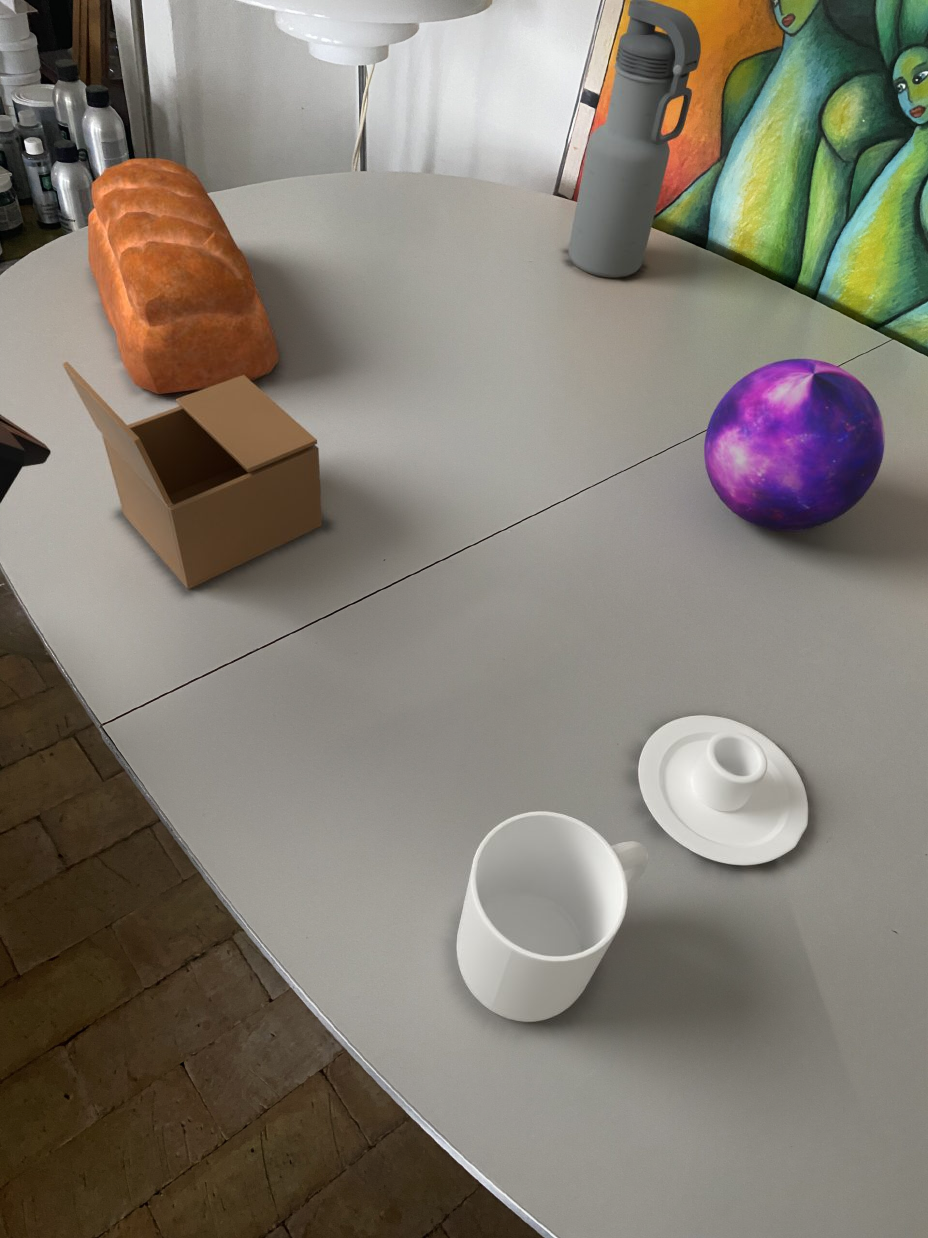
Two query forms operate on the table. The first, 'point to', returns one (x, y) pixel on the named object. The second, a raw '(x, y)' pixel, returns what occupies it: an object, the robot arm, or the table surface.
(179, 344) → the bread
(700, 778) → the candle holder
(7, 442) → the robot arm
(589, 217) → the water bottle
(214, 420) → the carton
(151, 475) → the flap
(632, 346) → the table surface
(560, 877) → the mug
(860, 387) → the decorative orb
